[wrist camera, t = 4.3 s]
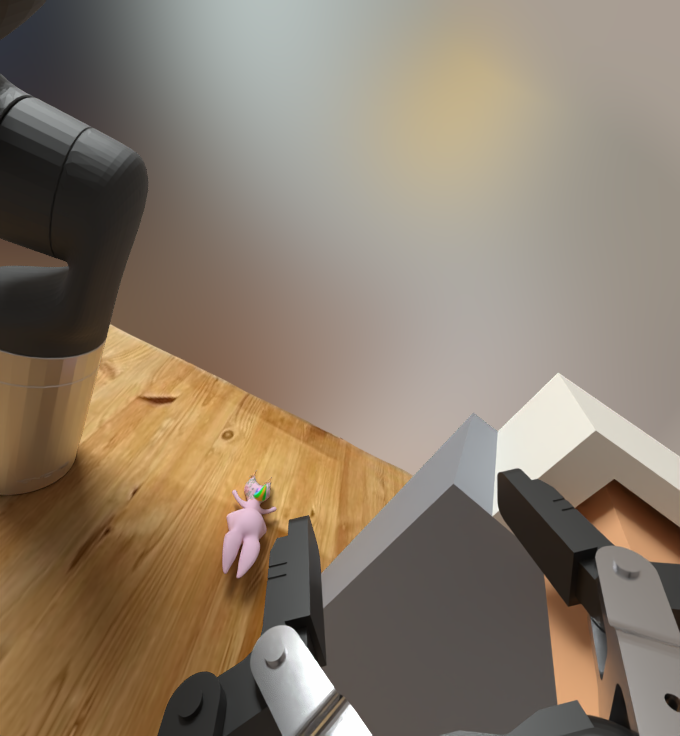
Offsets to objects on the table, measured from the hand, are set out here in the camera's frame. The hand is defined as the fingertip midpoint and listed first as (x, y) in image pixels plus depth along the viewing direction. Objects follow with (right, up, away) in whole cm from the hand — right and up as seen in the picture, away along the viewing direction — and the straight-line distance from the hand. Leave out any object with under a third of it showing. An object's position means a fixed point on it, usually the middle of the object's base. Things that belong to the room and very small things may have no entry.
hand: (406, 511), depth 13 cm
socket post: (-6, -26, +18) cm, 32 cm away
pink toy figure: (-15, -15, +29) cm, 36 cm away
